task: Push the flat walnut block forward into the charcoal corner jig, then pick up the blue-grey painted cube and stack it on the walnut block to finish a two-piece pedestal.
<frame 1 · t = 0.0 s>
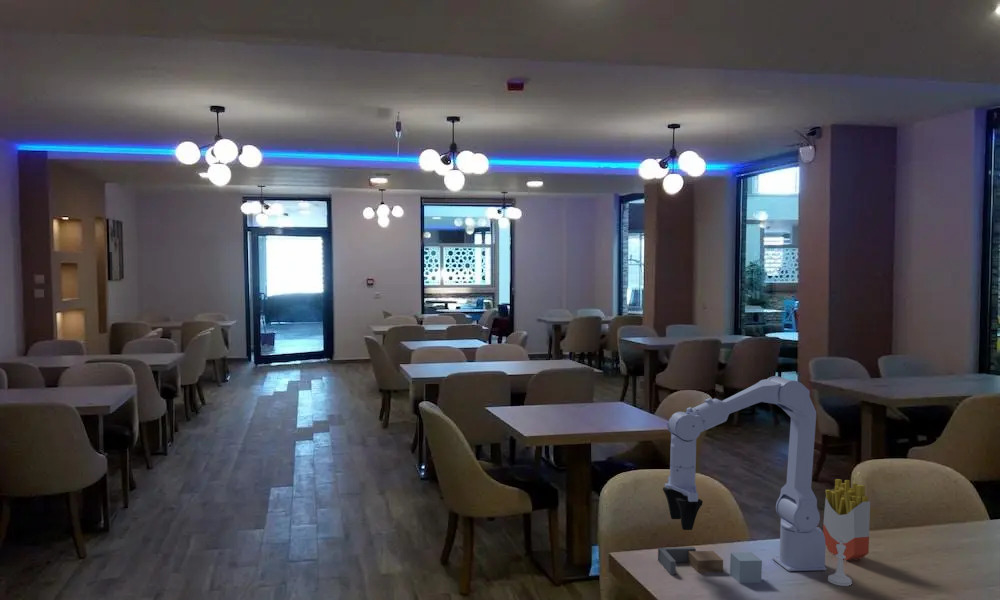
hand: (681, 524, 173), 10 cm above the table, tool pointing down, fingers open, 7 cm apart
chess piece: (839, 582, 167), on the table
blue-grey cube: (745, 578, 168), on the table
french fries container: (844, 556, 183), on the table
corner jig: (684, 567, 173), on the table
walnut block: (705, 568, 174), on the table
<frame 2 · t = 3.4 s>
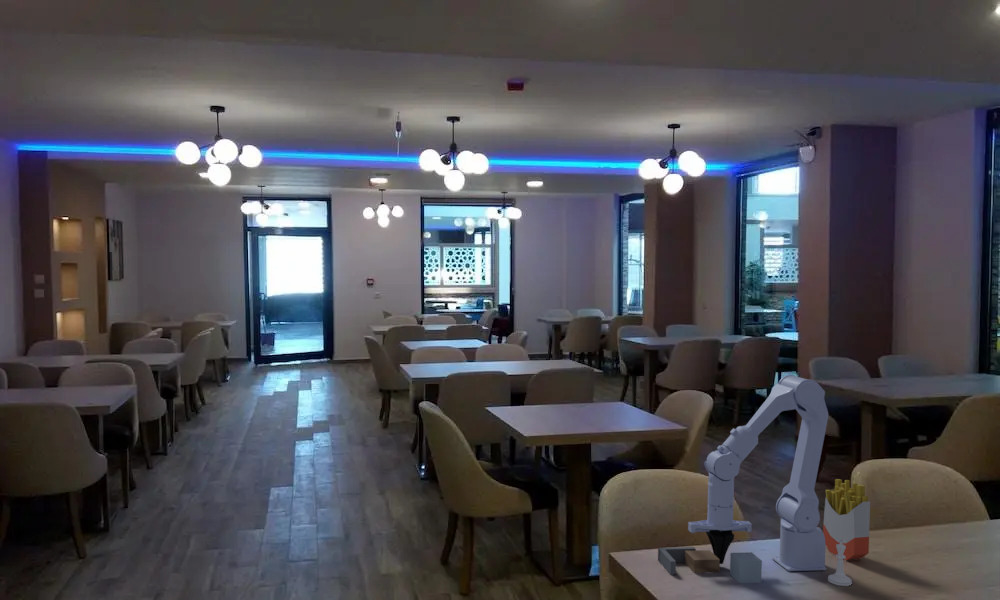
hand: (718, 562, 174), 1 cm above the table, tool pointing down, fingers closed
nothing on the table moved.
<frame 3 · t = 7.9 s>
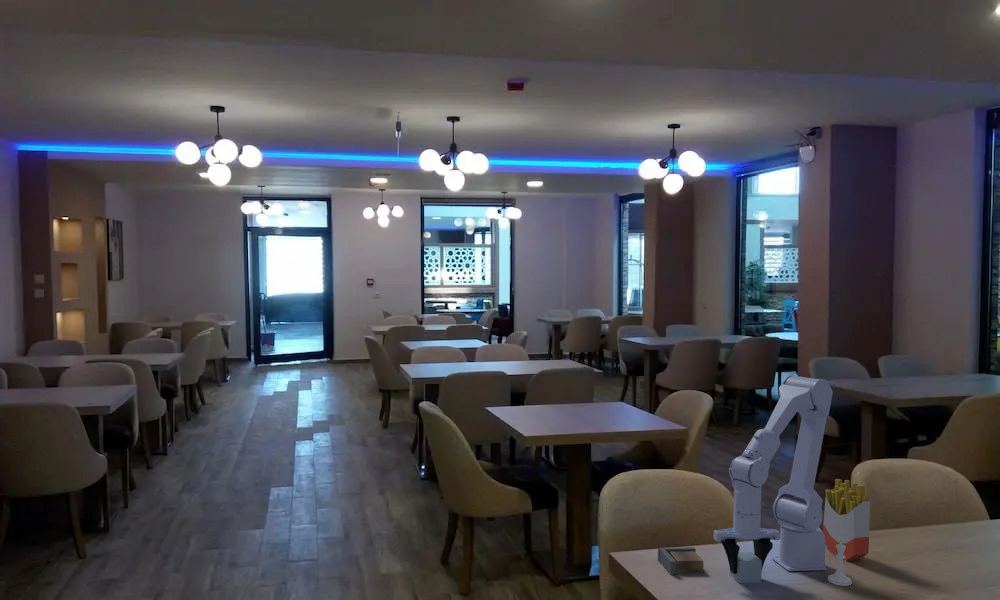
hand: (745, 572, 168), 1 cm above the table, tool pointing down, fingers closed on blue-grey cube, 5 cm apart
blue-grey cube: (745, 578, 168), on the table, touching gripper
walnut block: (685, 569, 173), on the table
everything else where it was.
when the fingers open (5 cm above the table, at t = 11.2 s): blue-grey cube moves 1 cm, point 3 cm above the table.
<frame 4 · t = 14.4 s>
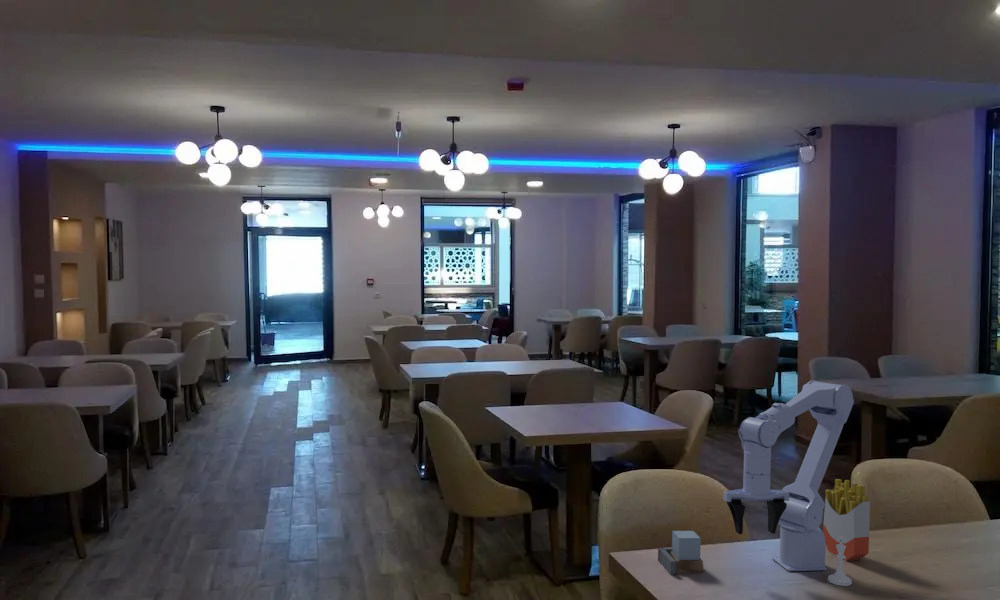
hand: (755, 532, 169), 10 cm above the table, tool pointing down, fingers open, 7 cm apart
blue-grey cube: (685, 556, 173), point 3 cm above the table
everything else where it was.
at the end: walnut block 0.1 cm from the target spot, on the table; blue-grey cube 0.2 cm off-centre on the walnut block, point 3.0 cm above the walnut block's base; blue-grey cube tilted 1° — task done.
